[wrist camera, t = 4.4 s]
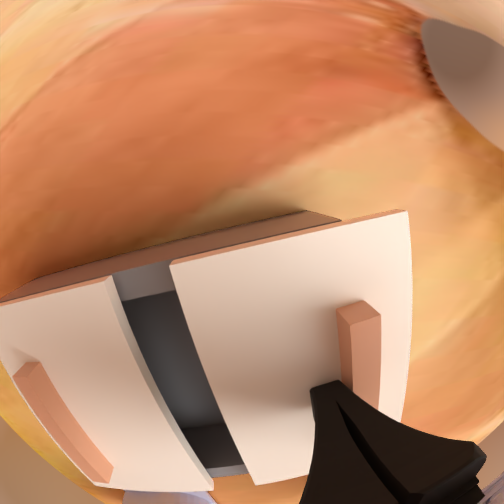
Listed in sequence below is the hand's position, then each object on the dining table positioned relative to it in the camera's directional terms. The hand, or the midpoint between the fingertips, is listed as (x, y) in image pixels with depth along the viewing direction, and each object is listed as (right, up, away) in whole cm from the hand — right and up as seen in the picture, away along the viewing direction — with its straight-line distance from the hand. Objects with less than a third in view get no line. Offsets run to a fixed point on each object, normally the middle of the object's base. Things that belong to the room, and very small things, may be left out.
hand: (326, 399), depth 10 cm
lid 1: (-11, -2, +1) cm, 12 cm away
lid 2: (0, 0, +1) cm, 1 cm away
